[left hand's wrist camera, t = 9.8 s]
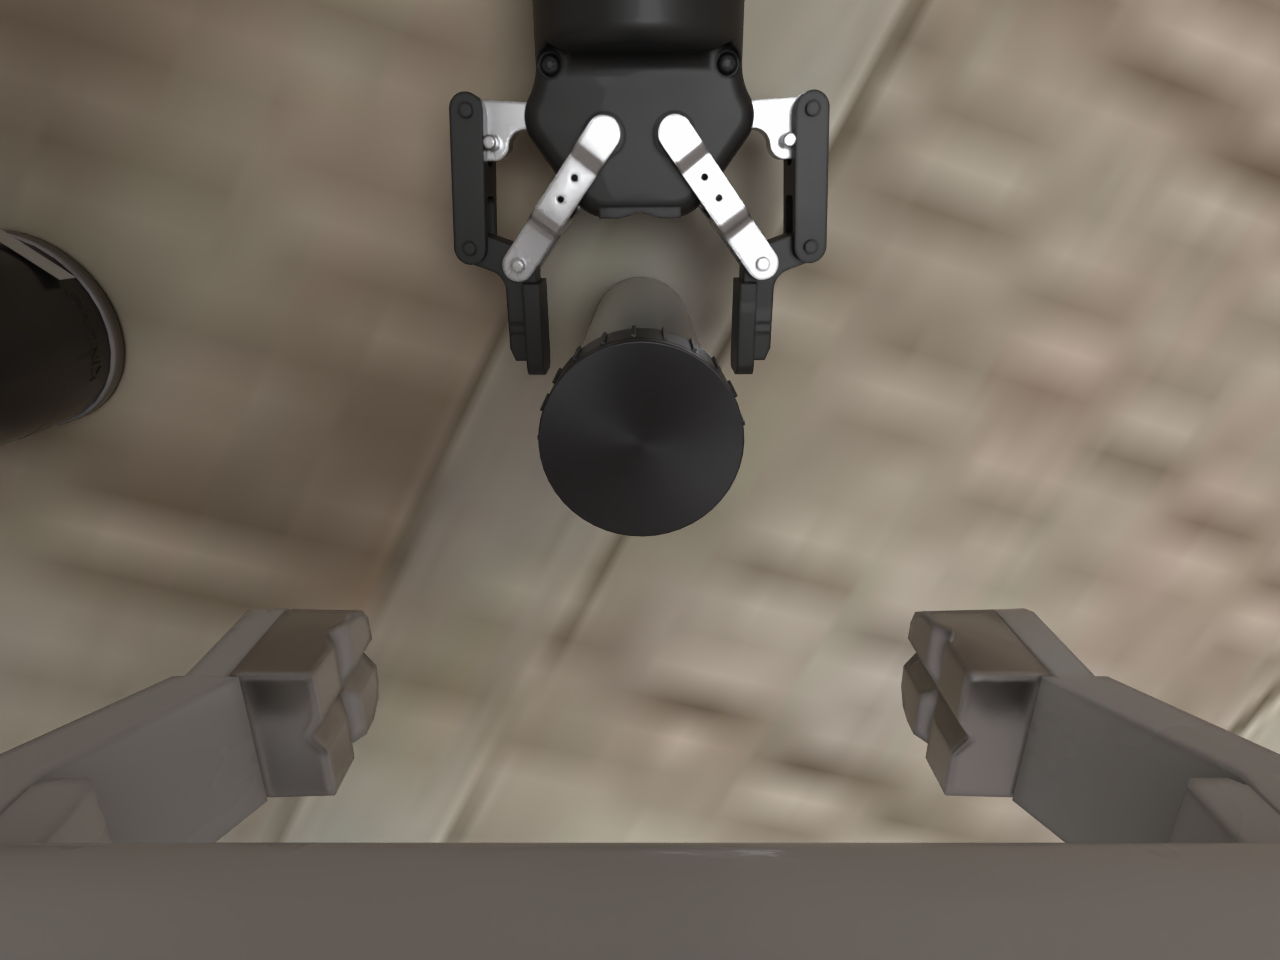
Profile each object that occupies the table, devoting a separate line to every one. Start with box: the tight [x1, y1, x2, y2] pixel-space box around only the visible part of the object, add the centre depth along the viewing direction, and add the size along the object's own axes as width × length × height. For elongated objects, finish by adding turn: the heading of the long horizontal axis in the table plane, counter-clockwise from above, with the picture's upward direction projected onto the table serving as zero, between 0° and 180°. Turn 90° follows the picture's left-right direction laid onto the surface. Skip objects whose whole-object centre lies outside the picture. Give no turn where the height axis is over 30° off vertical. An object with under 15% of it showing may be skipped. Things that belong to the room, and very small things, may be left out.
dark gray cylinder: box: [581, 277, 702, 349], centre depth 28 cm, size 5×5×18 cm
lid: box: [538, 325, 745, 536], centre depth 20 cm, size 6×6×2 cm
